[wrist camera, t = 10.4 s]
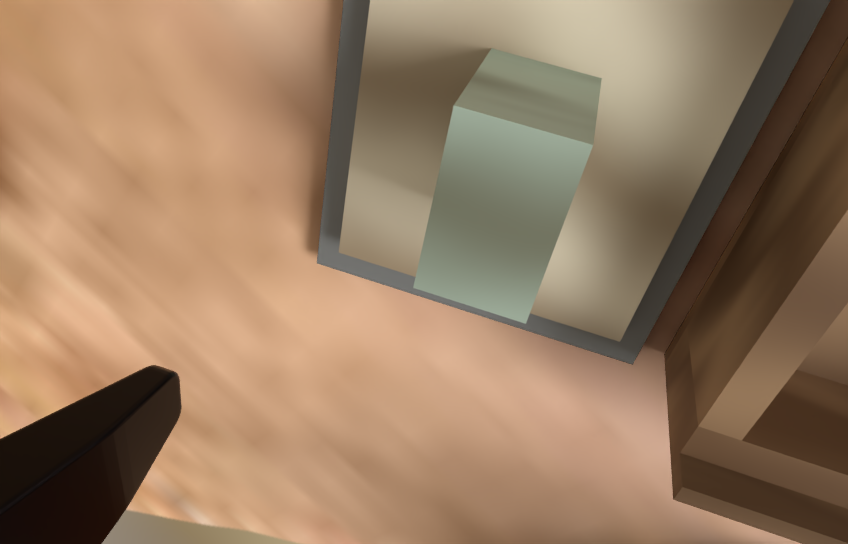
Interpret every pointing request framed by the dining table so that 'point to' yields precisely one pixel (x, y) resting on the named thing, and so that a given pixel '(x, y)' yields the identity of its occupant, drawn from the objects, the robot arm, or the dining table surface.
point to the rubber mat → (689, 233)
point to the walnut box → (774, 347)
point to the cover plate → (629, 137)
